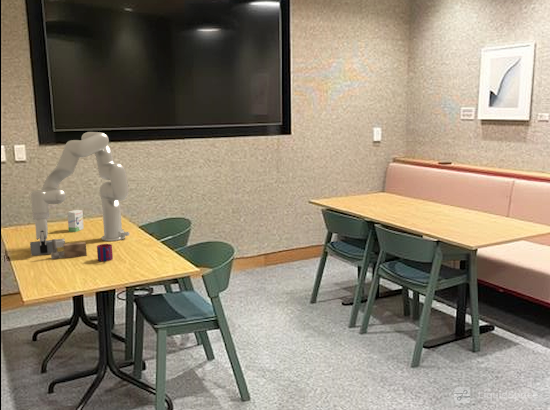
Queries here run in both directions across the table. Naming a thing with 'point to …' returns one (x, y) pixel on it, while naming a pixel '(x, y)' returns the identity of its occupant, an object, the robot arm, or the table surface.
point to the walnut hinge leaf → (69, 250)
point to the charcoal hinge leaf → (36, 246)
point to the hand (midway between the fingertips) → (44, 251)
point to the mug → (104, 252)
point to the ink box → (75, 220)
